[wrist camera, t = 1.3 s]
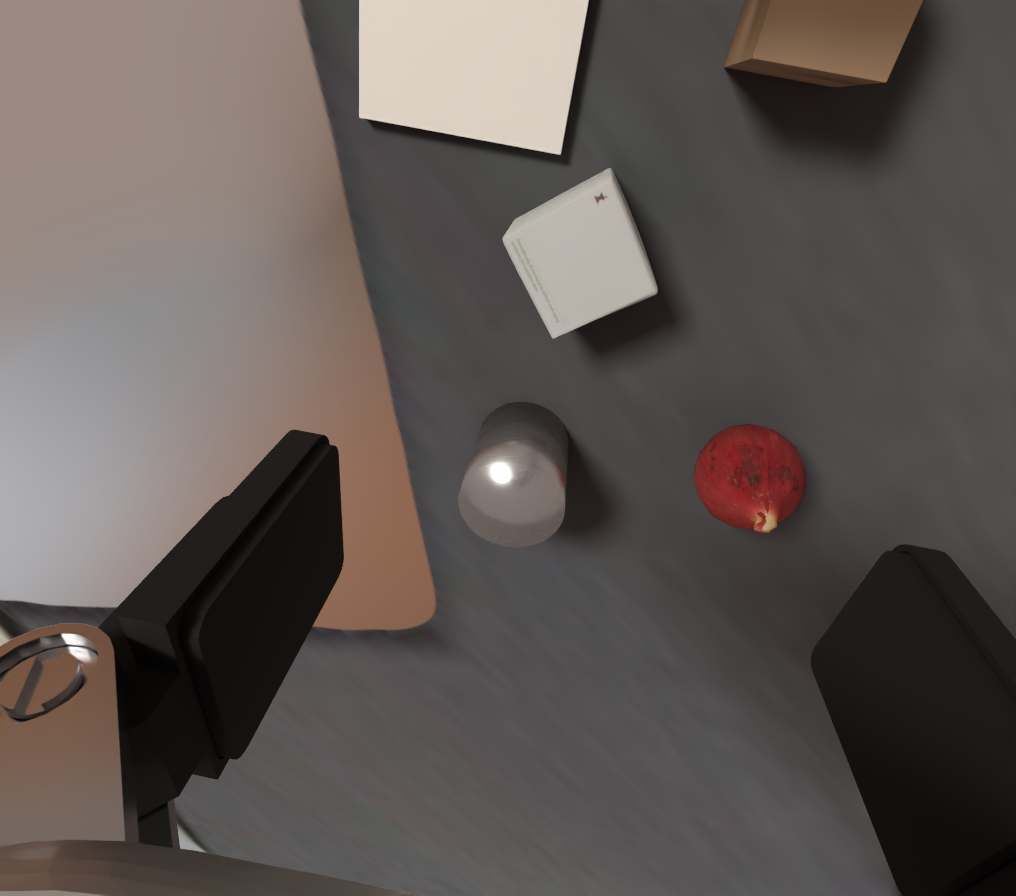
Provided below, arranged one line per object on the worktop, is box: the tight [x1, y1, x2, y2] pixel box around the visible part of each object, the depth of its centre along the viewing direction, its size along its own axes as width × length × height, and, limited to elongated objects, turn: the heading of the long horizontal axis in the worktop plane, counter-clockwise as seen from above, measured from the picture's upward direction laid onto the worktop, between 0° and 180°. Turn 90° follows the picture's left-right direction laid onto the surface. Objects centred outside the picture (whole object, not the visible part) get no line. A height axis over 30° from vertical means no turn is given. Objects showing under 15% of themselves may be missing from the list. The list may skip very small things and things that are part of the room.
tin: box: [458, 402, 569, 547], centre depth 33 cm, size 6×6×7 cm
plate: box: [359, 0, 589, 155], centre depth 24 cm, size 10×10×1 cm
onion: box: [694, 424, 805, 533], centre depth 30 cm, size 6×6×8 cm
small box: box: [503, 168, 658, 338], centre depth 27 cm, size 6×6×5 cm
